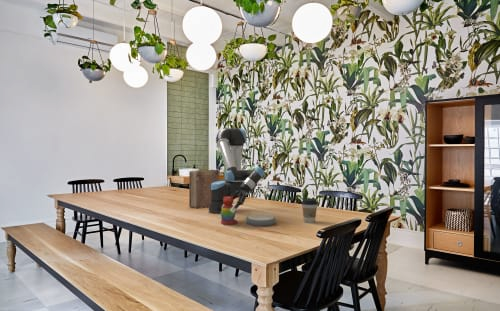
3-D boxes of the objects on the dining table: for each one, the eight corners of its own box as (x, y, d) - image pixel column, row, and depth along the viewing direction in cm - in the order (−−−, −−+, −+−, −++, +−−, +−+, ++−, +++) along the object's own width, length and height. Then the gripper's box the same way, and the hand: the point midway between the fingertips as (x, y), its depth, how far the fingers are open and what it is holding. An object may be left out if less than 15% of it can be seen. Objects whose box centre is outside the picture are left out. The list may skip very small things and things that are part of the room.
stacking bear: (238, 222, 233) (238, 195, 233) (233, 225, 224) (233, 197, 223) (223, 221, 237) (223, 194, 236) (217, 224, 227) (217, 197, 227)
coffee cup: (307, 224, 228) (307, 201, 227) (297, 220, 238) (297, 199, 237) (321, 222, 233) (321, 200, 233) (311, 219, 243) (311, 197, 243)
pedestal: (241, 224, 228) (241, 217, 228) (256, 218, 244) (256, 213, 244) (266, 227, 217) (266, 221, 217) (280, 222, 233) (280, 216, 233)
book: (196, 208, 283) (196, 171, 282) (189, 207, 289) (189, 171, 288) (219, 204, 302) (219, 170, 301) (211, 203, 308) (211, 169, 307)
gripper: (259, 191, 226) (238, 217, 219) (242, 187, 248) (223, 210, 241) (252, 184, 223) (231, 209, 217) (235, 180, 245) (216, 203, 239)
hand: (227, 210), depth 229 cm, fingers open, 13 cm apart
